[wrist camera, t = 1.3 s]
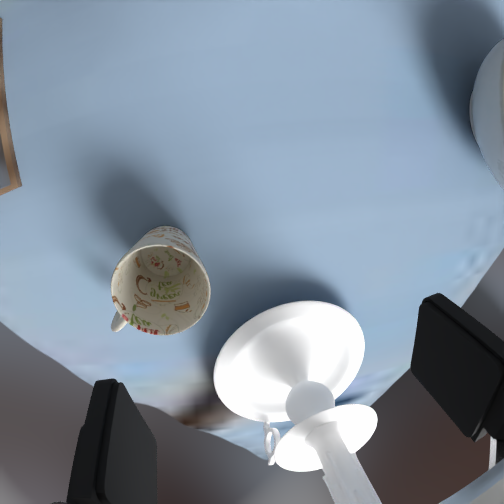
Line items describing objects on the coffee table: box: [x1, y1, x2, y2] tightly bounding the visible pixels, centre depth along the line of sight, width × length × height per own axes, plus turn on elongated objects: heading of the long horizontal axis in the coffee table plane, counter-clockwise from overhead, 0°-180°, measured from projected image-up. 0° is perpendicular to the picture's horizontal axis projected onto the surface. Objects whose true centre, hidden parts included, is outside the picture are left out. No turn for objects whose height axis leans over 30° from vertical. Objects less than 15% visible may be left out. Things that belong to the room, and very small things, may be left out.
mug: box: [111, 226, 211, 335], centre depth 30 cm, size 8×13×10 cm, turn 136°
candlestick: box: [214, 301, 382, 504], centre depth 30 cm, size 21×25×28 cm
